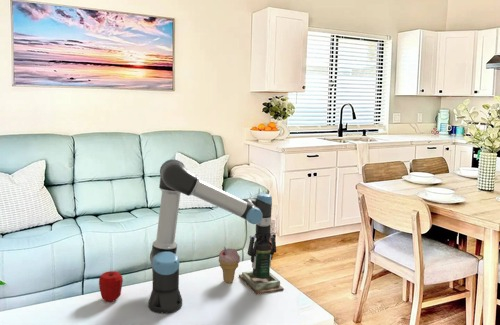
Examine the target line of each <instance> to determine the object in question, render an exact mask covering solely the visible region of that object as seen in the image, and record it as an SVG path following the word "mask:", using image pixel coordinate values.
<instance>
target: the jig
mask: <svg viewBox="0 0 500 325" xmlns="http://www.w3.org/2000/svg"><path fill="white" fill-rule="evenodd" d="M238 278H240V279H241V280H242V282H243V283H244V284H245V285H247V287H248V288H249V289H250V290H251V291H252V292H253V293H254V294H255V295H256V296H258V295H263V294H270V293H276V292H281V291H282V292H283V291H284V289H285V288H284V287H283V286H282V285H281V280H279V279H278V278H277V277H276V276H275V275H274V274H272V273H271V272H270V274H269V277H268V278H265V279H260V278H256V277H255V276H254V274H253V270H250V271H249V270H248V271H243V272H242V274H238Z"/></svg>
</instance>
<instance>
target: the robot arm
mask: <svg viewBox="0 0 500 325" xmlns="http://www.w3.org/2000/svg"><path fill="white" fill-rule="evenodd" d="M159 175H160V177H159V185H158V186H159V187H158V188H159V190H160V191H161V196H160V204H159V214H158V216H159V217H158V223H157V231H156V239H155V240H154V241H153V242H152V244H151V245H152V246H151V251H150V253H149V254H150V255H149V261H150V265H151V266H150V267H151V270H152V273H151V274H152V290H151V293H150V296H149V299H148V304H147V305H148V309H149V310H150V311H151V312H154V313H156V314H170V313H171V314H172V313H175V312H177V311H179V310H180V309H182V307H183V297H182V294H181V292H180V289H179V288H180V287H179V284H180V277H179V276H180V259H179V258H180V257H179V256H178V254H177V253H178V252H177V250H178V244H177V242H176V241H175V240H176V234H177V225H178V215H179V207H180V201H181V194H183V195H185V196H188V197H191V196H193V197H196V198H198V199H200V200H202V201H205V202H207V203H209V204H211V205H213V206H216V207H218V208H220V209H222V210H225V211H226V212H229V213H231V214H233V215H235V216H238V217H240V218H241V219H243V220H245V221H247V222H248V223H250V224H252V225H255V234H254V235H250V236H249V244H248V250H247V255H248V256H250V262H251V268H252V270H253V269H255V268H256V256H255V254H256V245H258V244H261V242H267V243H269V244H270V245H271V252H270V268H271V267H272V260H273V259H274V258H273V255H275V253H277V245H276V236H277V235H276V234H275V233H273V232H272V233H271V229H272V228H271V224H272V209H273V208H272V207H273V206H272V205H273V197H272V194H269V193H262V192H261V193H258V194H257V196H256V198H239V197H236V196H235V195H233V194H230V193H229V192H226V191H224V190H222V189H220V188H218V187H216V186H214V185H212V184H209V183H207V182H205V181H203V180H201V179H200V178H199V176H198V175H196V174H194V173H193V172H191V171H190V170H188V168H186V166H185V164H184V163H183V162H182V161H180V160H179V159H175V158H173V159H167V160H166V161H164V162H162V164H161V166H160V168H159ZM269 239H270V240H269ZM258 241H259V242H258ZM270 241H271V242H270ZM254 242H255V245H254Z"/></svg>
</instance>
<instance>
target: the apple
mask: <svg viewBox="0 0 500 325" xmlns="http://www.w3.org/2000/svg"><path fill="white" fill-rule="evenodd" d="M123 281H124V280H123V276H122V274H121V273H120V272H118V271H115V270H114V271H113V270H112V271H111V270H110V271H106V272H103V273H102V274H101V275H100V276H99V280H98V287H99V292H100V296H101V299H103V300H104V301H105V302H106V303H112V302H115V301H116V300H118V299H119V297H121V294H122V290H123V289H122V288H123V283H124V282H123Z"/></svg>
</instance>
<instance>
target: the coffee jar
mask: <svg viewBox="0 0 500 325" xmlns="http://www.w3.org/2000/svg"><path fill="white" fill-rule="evenodd" d="M258 242H259V241H258ZM254 245H255V241H254ZM254 245H253V246H254ZM271 248H272V244H271V243H270V244H269V243H267V242H261V244H258V245H256V254H255V256H256V268H255V269H253V268H252V271H253V274H254V276H255V277H256V278H260V279H265V278H268V277H269V274H270V273H271V270H270V268H271V267H270V252H271Z"/></svg>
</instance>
